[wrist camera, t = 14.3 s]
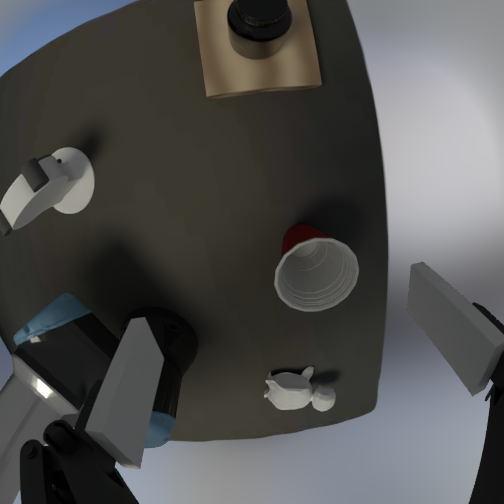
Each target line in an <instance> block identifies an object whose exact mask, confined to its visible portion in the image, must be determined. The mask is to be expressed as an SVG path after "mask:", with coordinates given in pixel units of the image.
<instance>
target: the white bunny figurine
mask: <svg viewBox="0 0 504 504" xmlns="http://www.w3.org/2000/svg"><path fill="white" fill-rule="evenodd" d="M313 370H314V367H313V366H309V367H307V368H306V369H305V370H304V371H303V373H302V374H301V375H297V374H293V373H290V372H289V373H288V372H287V373H286V372H285V373H280V374H277V375H274V376H271V372H269V374H268V378H267V379H266V383H268V387H267V389H266V392H265V394H264V397H268V398H269V400H270V401H271V402H272V403H273V404H274V406H275V407H277V408H278V409H280V410H290V409H293V410H294V409H297V408H303V407H304V406H306V405H307V404H308V403H309V402H310V401H312V404H313V407H314V408H315V409H317V410H319V411H327V410H328V409H330V408H331V407H332V406H333V405H334V402H335V397H336V394H335V392H334V390H333V389H332V388H330V387H324V386H318V387H317V389H316V390H315V391H314V392H312V386H311V384H310V382H309V379H310V378H311V376H312V375H313Z"/></svg>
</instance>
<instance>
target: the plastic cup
mask: <svg viewBox="0 0 504 504" xmlns="http://www.w3.org/2000/svg"><path fill="white" fill-rule="evenodd" d="M358 274H359V267H358V262H357V257H356V255H355V254H354V253H353V252H352V251H351V249H350V248H349V247H348V246H347V245H346V244H343V243H341V242H339V241H337V240H335V239H333V238H330V237H328V236H327V235H325V234H324V233H322V232H321V231H319V230H316V229H315V228H313V227H311V226H309V225H297V226H294V227H292V228H291V229H290V230H289V231H287V233H286V235H285V237H284V239H283V245H282V258H281V261H280V263H279V265H278V266H277V268H276V272H275V284H274V285H275V288H276V290H277V292H278V295H279V297H280V298H281V299H282V300H283V301H284V302H285V303H286V304H287V305H289V306H290V307H292V308H295V309H298V310H301V311H321V310H324V309H327V308H330V307H333V306H335V305H337V304H338V303H339V302H341V301H342V300H343V299H345V298H346V297H347V296H348V295H349V293H350V292H351V291H352V289H353V288H354V286H355V285H356V282H357V278H358Z"/></svg>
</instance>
